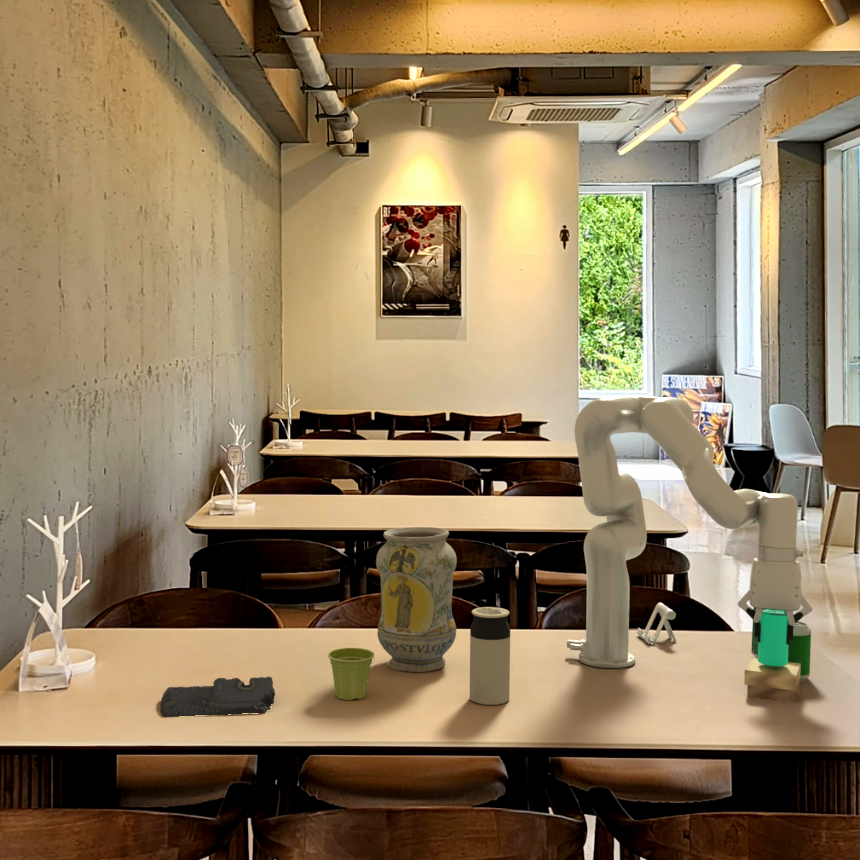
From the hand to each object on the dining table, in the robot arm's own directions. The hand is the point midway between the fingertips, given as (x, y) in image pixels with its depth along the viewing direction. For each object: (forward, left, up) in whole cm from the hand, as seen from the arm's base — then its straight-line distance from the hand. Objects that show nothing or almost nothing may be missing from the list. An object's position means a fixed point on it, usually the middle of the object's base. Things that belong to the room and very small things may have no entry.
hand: (773, 640), depth 225 cm
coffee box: (-1, +33, -11) cm, 35 cm away
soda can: (+4, +12, -11) cm, 17 cm away
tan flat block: (0, 0, -11) cm, 11 cm away
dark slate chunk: (-104, -44, -11) cm, 113 cm away
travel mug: (-54, -24, -11) cm, 60 cm away
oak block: (0, 0, -8) cm, 8 cm away
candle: (0, 0, -5) cm, 5 cm away
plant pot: (-81, -31, -11) cm, 87 cm away
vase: (-76, -5, -11) cm, 77 cm away
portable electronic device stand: (-27, +35, -11) cm, 45 cm away
